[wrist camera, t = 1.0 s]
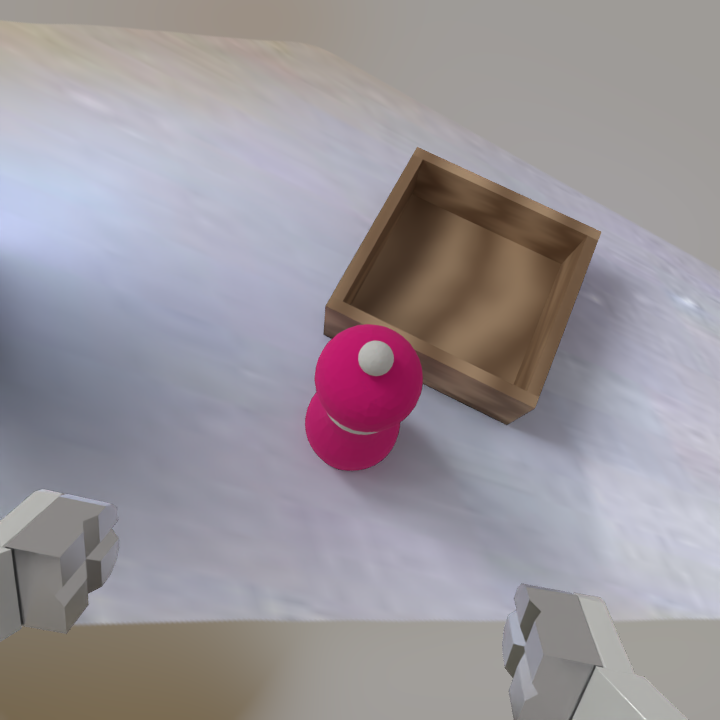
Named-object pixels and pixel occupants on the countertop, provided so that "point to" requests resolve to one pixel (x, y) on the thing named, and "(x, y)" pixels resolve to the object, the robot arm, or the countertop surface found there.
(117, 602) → the countertop surface
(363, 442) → the pepper mill
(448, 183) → the tray
